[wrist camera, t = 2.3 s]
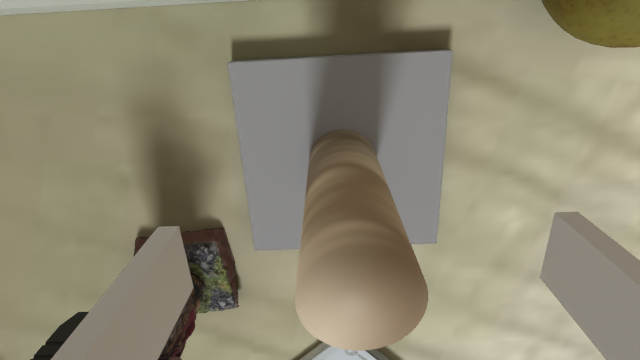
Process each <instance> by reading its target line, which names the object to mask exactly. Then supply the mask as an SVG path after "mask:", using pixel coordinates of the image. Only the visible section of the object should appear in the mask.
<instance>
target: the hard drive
mask: <svg viewBox="0 0 640 360" xmlns="http://www.w3.org/2000/svg"><path fill="white" fill-rule="evenodd" d="M299 360H390V359H389V358H387V357H386V356H385V355H383V354H382V353H381V352H380V351H378V350H377V349H373V350H364V351H354V350H345V349H341V348H337V347H334V346H330V345H328V344H326V343H324V342H322V343H321V344H319V345H318V346H317V347H315V348H314V349H313V350H311V351H310V352H309V353H307V354H306V355H305V356H303V357H302V358H301V359H299Z"/></svg>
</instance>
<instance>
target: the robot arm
mask: <svg viewBox="0 0 640 360" xmlns="http://www.w3.org/2000/svg"><path fill="white" fill-rule="evenodd" d="M540 278H541V279H542V281H543V282H544V283H545V284H546V286H547V287H548V288H549V289H550V291H551V292H552V293H553V294H554V295H555V297H556V298H557V299H558V300H559V302H560V303H561V304H562V305H563V307H564V308H565V309H566V310H567V312H568V313H569V314H570V315H571V317H572V318H573V319H574V320H575V322H576V323H577V324H578V325H579V326H580V328H581V329H582V330H583V331H584V333H585V334H586V335H587V336H588V338H589V339H590V340H591V341H592V343H593V344H594V345H595V346H596V348H597V349H598V350H599V351H600V352H601V354H602V355H603V356H604V357H605V359H606V360H640V260H638V259H637V258H636V257H635V256H633V255H632V254H631V253H629V252H628V251H627V250H626V249H624V248H623V247H622V246H621V245H619V244H618V243H617V242H615V241H614V240H613V239H612V238H610V237H609V236H608V235H607V234H605V233H604V232H603V231H601V230H600V229H599V228H598V227H596V226H595V225H594V224H593V223H591V222H590V221H589V220H588V219H586V218H585V217H584V216H582V215H581V214H580V213H579V212H557V213H555V214H554V218H553V223H552V227H551V231H550V236H549V240H548V245H547V249H546V253H545V258H544V262H543V267H542V271H541V275H540ZM193 288H194V287H193V283H192V279H191V275H190V270H189V266H188V262H187V258H186V254H185V249H184V245H183V241H182V237H181V232H180V228H179V226H166V227H157V229H156V230H155V231H154V232H153V234H152V235H151V236H150V237H149V238H148V240H147V241H146V242H145V243H144V245H143V246H142V247H141V248H140V250H139V251H138V252H137V253H136V255H135V256H134V257H133V258H132V260H131V261H130V262H129V263H128V265H127V266H126V267H125V268H124V269H123V271H122V272H121V273H120V274H119V276H118V277H117V278H116V279H115V281H114V282H113V283H112V284H111V286H110V287H109V288H108V289H107V291H106V292H105V293H104V294H103V295H102V297H101V298H100V299H99V300H98V302H97V303H96V304H95V305H94V307H93V308H92V309H91V310H90V312H78V313H77V314H75V315H74V316H73V317H71V318H70V319H68V320H67V321H66V322H64V323H63V324H62V325H60V326H59V327H58V328H57V330H56V331H55V332H54V333H53V334H52V335H51V337H50V338H49V339H48V340H47V341H46V344H45V345H43V346H42V347H41V348H40V349H39V350H38V352H37V353H36V354H35V355H34V358H33V359H31V360H158V358H159V356H160V354H161V352H162V350H163V348H164V346H165V344H166V342H167V340H168V338H169V336H170V334H171V332H172V330H173V328H174V326H175V324H176V322H177V320H178V318H179V316H180V314H181V312H182V310H183V308H184V306H185V304H186V302H187V300H188V298H189V296H190V294H191V292H192V290H193Z"/></svg>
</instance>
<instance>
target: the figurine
mask: <svg viewBox="0 0 640 360" xmlns="http://www.w3.org/2000/svg"><path fill="white" fill-rule="evenodd" d="M181 237H182V241H183V245H184V249H185V254H186V258H187V262H188V266H189V270H190V275H191V279H192V283H193V287H194V288H193V290H192V292H191V294H190V296H189V298H188V300H187V302H186V304H185V306H184V308H183V310H182V312H181V314H180V316H179V318H178V320H177V322H176V324H175V326H174V328H173V330H172V332H171V334H170V336H169V338H168V340H167V342H166V344H165V346H164V348H163V350H162V352H161V354H160V356H159V358H158V360H182V359H181V358H180V357H181V355H182V352H183V350H184V348H185V343H186V340H187V339H188V337H189V336H191V334H192V332H193V331H194V329H195V320H196V314H197V313H206V312H208V311H212V312H213V311H223V310H226V309H231V308H236V307H239V305H238V292H237V285H236V279H235V277H234V276H235V270H234V265H235V262H234V258H233V256H232V253H231V248H230V245H229V243H228V239H227V236H226V233H225V231H224V229H223V228H220V229H219V228H217V229H212V230H207V229H206V230H203V231H195V232H189V231H187V232H183V233H182V234H181ZM147 240H148V238H139V239H136V241H135V250H134V251H135V253H134V256H135V255H136V253H137V252H138V251H139V250H140V248H141V247H142V246H143V245H144V243H145V242H146V241H147Z"/></svg>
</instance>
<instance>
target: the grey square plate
mask: <svg viewBox="0 0 640 360" xmlns="http://www.w3.org/2000/svg"><path fill="white" fill-rule="evenodd" d="M452 52H453V50H449V49H438V50H420V51H401V52H383V53H365V54H347V55H329V56H311V57H292V58H274V59H256V60H238V61H230V62H228V69H229V76H230V82H231V89H232V96H233V103H234V110H235V117H236V124H237V131H238V138H239V144H240V151H241V158H242V165H243V172H244V179H245V186H246V193H247V200H248V207H249V213H250V220H251V227H252V234H253V241H254V248H255V251H257V250H282V249H300V244H301V234H302V224H303V214H304V204H305V194H306V184H307V175H308V165H309V156H310V152H311V150H312V147H313V146H314V144H315V143H316V142H317V140H318V139H319V138H321V137H322V136H323V135H325V134H327V133H329V132H331V131H335V130H341V129H346V130H352V131H355V132H358V133H360V134H361V135H363V136H364V137H365V138H367V139H368V140H369V142H370V143H371V144H372V146H373V148H374V151H375V153H376V156H377V158H378V161H379V164H380V166H381V169H382V171H383V174H384V176H385V179H386V182H387V184H388V187H389V189H390V192H391V194H392V197H393V200H394V202H395V205H396V207H397V210H398V212H399V215H400V218H401V220H402V223H403V225H404V228H405V231H406V233H407V236H408V238H409V241H410V243H411V244H430V243H437V233H438V221H439V209H440V196H441V184H442V172H443V160H444V148H445V136H446V124H447V112H448V100H449V88H450V76H451V64H452Z"/></svg>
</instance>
